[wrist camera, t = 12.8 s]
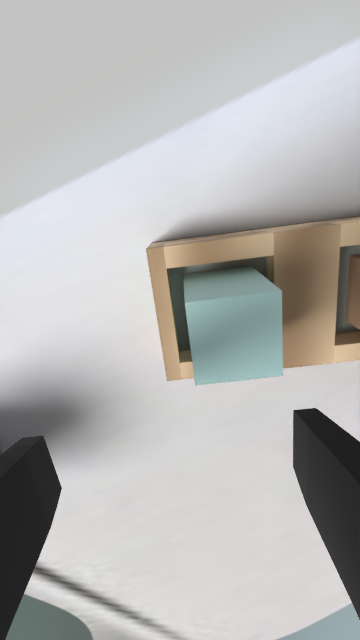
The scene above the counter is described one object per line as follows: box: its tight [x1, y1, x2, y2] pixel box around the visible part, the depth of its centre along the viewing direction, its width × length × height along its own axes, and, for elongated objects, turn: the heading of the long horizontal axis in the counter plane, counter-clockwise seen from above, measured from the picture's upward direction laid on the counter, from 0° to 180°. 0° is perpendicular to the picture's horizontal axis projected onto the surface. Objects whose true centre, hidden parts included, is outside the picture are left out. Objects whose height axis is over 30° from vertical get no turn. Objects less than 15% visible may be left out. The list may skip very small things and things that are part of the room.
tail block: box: [183, 266, 283, 385], centre depth 14 cm, size 4×4×5 cm
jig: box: [146, 216, 360, 381], centre depth 16 cm, size 18×7×3 cm, turn 97°
